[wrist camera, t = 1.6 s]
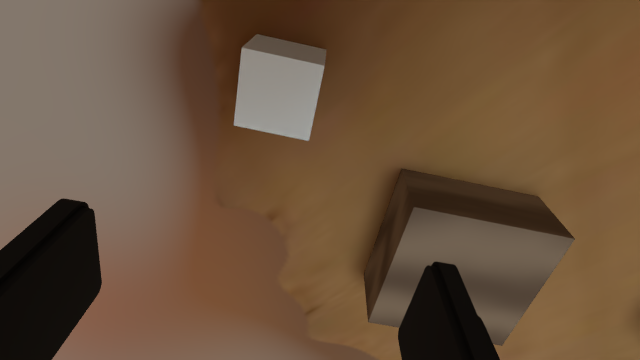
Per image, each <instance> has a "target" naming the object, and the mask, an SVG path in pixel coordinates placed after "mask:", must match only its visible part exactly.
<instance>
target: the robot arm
mask: <svg viewBox="0 0 640 360" xmlns="http://www.w3.org/2000/svg"><path fill="white" fill-rule="evenodd" d="M101 283H102V280H101V271H100V261H99V252H98V243H97V233H96V224H95V215H94V211H93V209H90V208H89V207H88V204H87V203H85V202H80V201H75V200H69V199H60V200H59V201H57V202H56V203H55V204H54V205H53V206H52V207H50V208H49V209H48V210H47V211H46V212H44V213H43V214H42V215H41V216H40V217H39V218H37V219H36V220H35V221H34V222H33V223H32V224H30V225H29V226H28V227H27V228H26V229H25V230H23V232H21V233H20V234H19V235H18V236H16V237H15V238H14V239H13V240H12V241H11V242H9V243H8V244H7V245H6V246H5V247H4V248H2V249H1V250H0V360H52V358H53V357H54V356H55V354H56V353H57V351H58V350H59V349H60V347H61V346H62V344H63V343H64V341H65V340H66V339H67V337H68V336H69V334H70V333H71V332H72V330H73V329H74V327H75V326H76V325H77V323H78V322H79V320H80V319H81V318H82V316H83V315H84V313H85V312H86V310H87V309H88V308H89V306H90V305H91V303H92V302H93V301H94V299H95V298H96V296H97V295H98V293H99V291H100V288H101ZM398 340H399V346H400V351H401V357H402V360H500V359H499V357H498V354H497V352H496V350H495V347H494V345H493V343H492V341H491V338H490V336H489V334H488V331H487V329H486V327H485V325H484V323H483V321H482V319H481V318H480V317H479V316H478V315H477V313H476V310H475V308H474V306H473V303H472V301H471V299H470V296H469V294H468V292H467V289H466V287H465V285H464V282H463V280H462V278H461V275H460V273H459V271H458V269H457V267H456V265H454V264H448V263H442V262H434V263H432V265H431V266H430V265H427V266H426V267H425V269H424V272H423V274H422V276H421V279H420V281H419V283H418V286H417V288H416V290H415V293H414V295H413V297H412V300H411V302H410V304H409V306H408V309H407V311H406V313H405V316H404V318H403V320H402V323H401V325H400V328H399V332H398Z"/></svg>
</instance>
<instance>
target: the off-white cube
mask: <svg viewBox="0 0 640 360" xmlns="http://www.w3.org/2000/svg"><path fill="white" fill-rule="evenodd" d="M325 59H326V49H322V48H317V47H313V46H308V45H304V44H299V43H295V42H290V41H286V40H281V39H277V38H273V37H268V36H264V35H259V34H256V35H255V36H254V37H253V38H252V39H251V40H250V41H248V42H247V43H246V44H245V45H244V46H243V47H242V50H241V59H240V69H239V79H238V89H237V98H236V108H235V118H234V126H239V127H244V128H249V129H254V130H258V131H263V132H268V133H273V134H278V135H283V136H287V137H292V138H297V139H302V140H307V141H309V138H310V133H311V128H312V124H313V119H314V114H315V109H316V105H317V100H318V95H319V90H320V86H321V81H322V76H323V71H324V67H325Z"/></svg>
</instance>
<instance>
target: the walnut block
mask: <svg viewBox="0 0 640 360" xmlns="http://www.w3.org/2000/svg"><path fill="white" fill-rule="evenodd" d="M574 240H575V238H574V237H573V236H572V235H571V234H570V233H569V231H568V230H567V229H566V228H565V227H564V226H563V224H562V223H561V222H560V221H559V220H558V219H557V218H556V216H555V215H554V214H553V213H552V212H551V211H550V209H549V208H548V207H547V206H546V205H545V204H544V202H543V201H542V200H541V199H540V198H539V197H537V196H533V195H528V194H523V193H518V192H513V191H508V190H503V189H499V188H494V187H489V186H484V185H479V184H474V183H469V182H465V181H460V180H455V179H450V178H445V177H440V176H435V175H431V174H426V173H421V172H416V171H411V170H406V169H401V172H400V175H399V178H398V181H397V183H396V186H395V189H394V192H393V195H392V197H391V200H390V203H389V206H388V209H387V211H386V214H385V217H384V220H383V223H382V225H381V228H380V231H379V234H378V237H377V239H376V242H375V245H374V248H373V251H372V253H371V256H370V259H369V262H368V265H367V267H366V270H365V273H364V281H365V292H366V303H367V315H368V322H370V323H376V324H382V325H387V326H393V327H399V328H400V325H401V323H402V320H403V318H404V316H405V313H406V311H407V309H408V306H409V304H410V302H411V300H412V297H413V295H414V293H415V290H416V288H417V286H418V283H419V281H420V279H421V276H422V274H423V272H424V269H425V267H426V266H427V265H430V266H431V265H432V263H434V262H442V263H448V264H454V265H456V267H457V269H458V271H459V273H460V275H461V278H462V280H463V282H464V285H465V287H466V289H467V292H468V294H469V296H470V299H471V301H472V303H473V306H474V308H475V310H476V313H477V315H478V316H479V317H480V318H481V319H482V321H483V323H484V325H485V327H486V329H487V331H488V334H489V336H490V338H491V341H492V343H493V344H495V345H501V346H502V345H503V343H504V342H505V340H506V339H507V338H508V336H509V335H510V333H511V332H512V330H513V329H514V327H515V326H516V324H517V323H518V321H519V320H520V319H521V317H522V316H523V314H524V313H525V311H526V310H527V308H528V307H529V305H530V304H531V302H532V301H533V300H534V298H535V297H536V295H537V294H538V292H539V291H540V289H541V288H542V286H543V285H544V283H545V282H546V281H547V279H548V278H549V276H550V275H551V273H552V272H553V270H554V269H555V267H556V266H557V264H558V263H559V262H560V260H561V259H562V257H563V256H564V254H565V253H566V251H567V250H568V248H569V247H570V245H571V244H572V243H573V241H574Z"/></svg>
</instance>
